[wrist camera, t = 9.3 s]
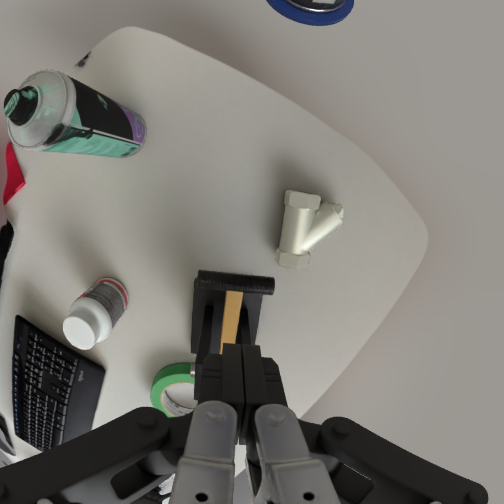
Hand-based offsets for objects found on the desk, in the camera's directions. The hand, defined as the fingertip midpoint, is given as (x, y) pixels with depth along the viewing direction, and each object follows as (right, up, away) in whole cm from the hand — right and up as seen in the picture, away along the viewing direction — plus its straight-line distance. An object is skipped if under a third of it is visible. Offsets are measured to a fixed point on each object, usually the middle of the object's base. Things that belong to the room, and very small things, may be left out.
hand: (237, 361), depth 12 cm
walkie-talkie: (-22, -49, +35) cm, 64 cm away
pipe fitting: (+7, +7, +22) cm, 24 cm away
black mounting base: (-3, -4, +24) cm, 25 cm away
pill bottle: (-18, -1, +23) cm, 29 cm away
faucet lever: (-1, -2, +12) cm, 12 cm away
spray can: (-14, +18, +18) cm, 29 cm away
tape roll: (-8, -16, +27) cm, 33 cm away
